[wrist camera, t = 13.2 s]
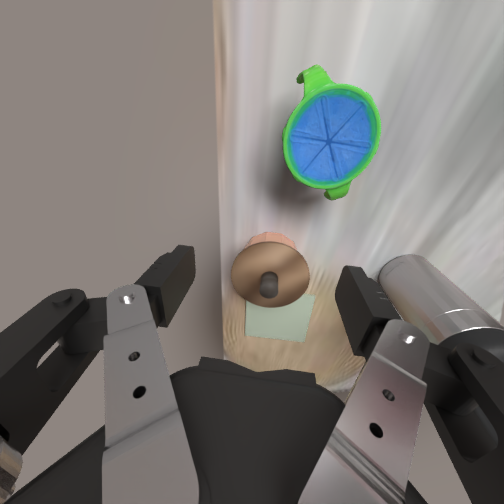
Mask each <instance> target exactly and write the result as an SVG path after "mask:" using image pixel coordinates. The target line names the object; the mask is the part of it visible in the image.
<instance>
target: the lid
mask: <svg viewBox="0 0 504 504" xmlns="http://www.w3.org/2000/svg"><path fill="white" fill-rule="evenodd" d="M231 279H232V283H233V286H234V288H235V290H236V291H237V292H238V293H239V295H240V296H241V297H243V298H244V299H245V300H247V301H248V302H250V303H252V304H255V305H257V306H261V307H267V308H277V307H283V306H286V305H289V304H291V303H293V302H295V301H296V300H298V299H299V298H300V297H301V296H302V295H303V294H304V293H305V291H306V289H307V288H308V285H309V280H310V273H309V268H308V265H307V263H306V261H305V259H304V258H303V256H302V255H301V254H300V253H299V252H298V251H297V250H295V249H294V248H292V247H290V246H288V245H286V244H283V243H279V242H272V241H267V242H259V243H256V244H253V245H250V246H248V247H247V248H245V249H244V250H243V251H241V252H240V253H239V255H238V256H237V257H236V259H235V261H234V263H233V266H232V270H231Z"/></svg>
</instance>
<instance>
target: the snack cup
mask: <svg viewBox="0 0 504 504" xmlns="http://www.w3.org/2000/svg"><path fill="white" fill-rule="evenodd" d="M297 83H299V84H301V83H304V97H303V99H302V101H301V102H300V103H299V104H298V105H297V107H296V108H295V109H294V111H293V112H292V114H291V116H290V117H289V120H288V122H287V124H286V127H285V128H284V129H283V133H282V140H283V154H284V159H285V162H286V164H287V166H288V168H289V170H290V172H291V173H292V175H293V178H294V179H296V180H297V181H298V182H301V183H303V184H305V185H307V186H309V187H312V188H317V189H325V190H326V192H325V193H324V196H325V197H326V198H327V199H329V200H336V199H338V198H342V197H344V196H346V194H347V193H348V190H349V187H350V183H351V181H352V180H353V179H354V178H356V177H357V176H358V175H359V174H360V173H361V172H362V171H363V170H364V169H365V168H366V167H367V166H368V164H369V163H370V162H371V160H372V158H373V156H374V154H376V152H377V149H378V146H379V140H380V134H381V120H380V115H379V112H378V109H377V107H376V105H375V103H374V101H373V99H372V97H371V96H370V95H369V93H367V92H364V91H363V90H362V89H360V88H358V87H356V86H352V85H348V84H336V83H334V82H333V81H332V80H331V79H330V77H329V76H328V75H327V73H326V71H324V70H323V68H322V67H321V66H319V65H314V66H312V67H311V68H309V69H307V70H304V71H303V72H301V73H300V74H299V75H298V77H297Z"/></svg>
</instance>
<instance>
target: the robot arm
mask: <svg viewBox="0 0 504 504" xmlns="http://www.w3.org/2000/svg"><path fill="white" fill-rule="evenodd" d="M194 278H195V254H194V248H193V247H192V246H185V245H178V246H177V247H176V248H175V249H174V250H173V252H172V253H166V254H164V255H162V256H160V257H159V258H158V259H157V260H156V261H155V262H154V264H152V265H151V266H150V268H149V269H148V270H147V271H146V272H145V273H144V274H143V275H142V276H141V277H140V278H139V279H138V280H137V281H136V282H135V283H134V284H131V285H125V286H122V287H119V288H117V289H115V290H114V291H112V292H111V293H110V294H109V295H108V297H101V298H91V299H87V297H86V295H85V293H84V291H82V290H80V289H67V290H62V291H59V292H56V293H54V294H52V295H50V296H48V297H47V298H45V299H44V300H42V301H41V302H40V303H39V304H37V305H36V306H35V307H33V308H32V309H31V310H30V311H28V312H27V313H26V314H24V315H23V316H22V317H20V318H19V319H18V320H17V321H15V322H14V323H13V324H11V325H10V326H9V327H7V328H6V329H5V330H4V331H2V332H1V333H0V504H428V503H427V502H426V501H425V500H424V498H423V497H422V496H421V495H420V494H419V492H418V491H417V490H416V489H415V487H414V486H413V485H412V484H411V483H410V481H409V480H408V476H409V471H410V466H411V461H412V456H413V452H414V447H415V442H416V437H417V432H418V428H419V423H420V418H421V412H422V408H423V403H424V405H425V407H426V409H427V411H428V413H429V415H430V417H431V419H432V421H433V423H434V426H435V428H436V430H437V432H438V434H439V436H440V438H441V440H442V442H443V444H444V446H445V448H446V450H447V453H448V455H449V457H450V459H451V461H452V463H453V465H454V467H455V469H456V471H457V473H458V475H459V478H460V480H461V482H462V484H463V486H464V488H465V490H466V492H467V494H468V496H469V498H470V500H471V503H472V504H504V326H503V325H501V324H500V323H499V322H498V321H497V320H496V319H494V318H493V317H492V316H491V315H490V314H488V313H487V312H486V311H485V310H484V309H483V308H482V307H480V306H479V305H478V304H477V303H476V302H475V301H474V300H472V299H471V298H470V297H469V296H468V295H467V294H465V293H464V292H463V291H462V290H461V289H460V288H459V287H457V286H456V285H455V284H454V283H453V282H452V281H450V280H449V279H448V278H447V277H446V276H445V275H444V274H442V273H441V272H440V271H439V270H438V269H437V268H436V267H434V266H433V265H432V264H431V263H430V262H429V261H427V260H426V259H425V258H423V257H421V256H417V255H405V256H401V257H398V258H395V259H393V260H392V261H390V262H389V263H387V264H386V265H385V266H384V267H383V269H382V270H381V272H380V275H379V282H380V285H381V286H382V288H383V289H384V291H385V292H386V294H387V295H388V297H389V299H390V300H391V302H392V303H393V305H394V306H395V308H396V309H397V311H398V312H399V314H400V315H401V317H402V318H403V320H404V321H403V320H402V319H401V317H400V316H399V314H398V313H397V311H396V310H395V308H394V307H393V305H392V304H391V302H390V301H389V300H388V298H387V296H386V295H385V294H384V291H383V290H382V288H381V287H380V285H379V284H377V283H376V282H375V281H374V280H373V279H371V278H368V277H367V276H366V274H365V272H364V271H363V269H362V268H361V267H355V266H347V265H346V266H344V268H343V270H342V273H341V276H340V279H339V281H338V284H337V287H336V291H335V300H336V303H337V306H338V309H339V312H340V315H341V318H342V321H343V324H344V327H345V330H346V333H347V336H348V339H349V342H350V345H351V348H352V351H353V354H354V355H356V356H363V357H365V359H366V362H365V364H364V366H363V368H362V370H361V372H360V374H359V376H358V377H357V379H356V381H355V383H354V385H353V387H352V389H351V391H350V393H349V395H348V397H347V399H346V401H345V402H344V403H343V402H342V401H341V400H340V399H339V398H338V397H337V396H336V395H334V394H333V393H332V392H330V391H329V390H327V389H326V388H324V387H322V386H320V385H318V384H316V379H315V373H308V372H301V371H295V370H288V369H284V370H275V371H265V372H255V371H252V370H250V369H247V368H245V367H243V366H240V365H238V364H235V363H233V362H231V361H228V360H221V359H215V358H208V357H201V359H200V362H199V365H198V366H193V367H188V368H185V369H182V370H180V371H177V372H176V373H173V374H172V375H170V376H169V373H168V369H167V365H166V362H165V358H164V354H163V350H162V347H161V343H160V340H159V336H158V332H157V328H158V326H160V327H168V325H169V323H170V322H171V320H172V318H173V316H174V315H175V313H176V311H177V309H178V308H179V306H180V304H181V302H182V301H183V299H184V297H185V295H186V293H187V292H188V290H189V288H190V286H191V285H192V283H193V281H194ZM56 341H57V342H58V343H59V346H58V347H57V348H56V349H55V350H54V351H53V352H52V353H51V354H50V355H49V356H48V358H47V359H46V360H45V361H44V362H43V363H42V364H41V365H40V366H39V367H38V368H37V364H38V362H39V360H40V359H41V357H42V356H43V355H44V354H45V353H46V352H47V351H48V350H49V349H50V348H51V346H52V345H54V343H55V342H56ZM100 350H104V388H105V389H104V390H105V425H104V426H102V427H101V428H100V429H98V430H97V431H96V432H94V433H93V434H92V435H90V436H89V437H88V438H87V439H85V440H84V441H83V442H81V443H80V444H79V445H77V446H76V447H75V448H74V449H72V450H71V451H70V452H68V453H67V454H66V455H64V456H63V457H62V458H60V459H59V460H58V461H57V462H55V463H54V464H53V465H51V466H50V467H49V468H47V469H46V470H45V471H43V472H42V473H41V474H39V475H38V476H37V477H36V478H34V479H33V480H32V481H30V482H29V483H28V484H26V485H25V486H24V487H22V488H21V489H20V490H18V491H17V492H16V493H15V494H13V492H14V490H15V482H16V480H17V478H18V476H19V474H20V471H21V468H22V463H23V460H22V455H23V454H24V452H25V451H26V450H27V448H28V447H29V445H30V444H31V443H32V441H33V440H34V439H35V437H36V436H37V435H38V433H39V432H40V431H41V429H42V428H43V427H44V425H45V424H46V422H47V421H48V420H49V418H50V417H51V416H52V414H53V413H54V412H55V410H56V409H57V408H58V406H59V405H60V404H61V402H62V401H63V400H64V398H65V397H66V396H67V394H68V393H69V392H70V390H71V388H72V387H73V386H74V385H75V383H76V382H77V380H78V379H79V378H80V377H81V375H82V374H83V373H84V371H85V370H86V369H87V367H88V366H89V364H90V363H91V362H92V360H93V359H94V358H95V356H96V355H97V353H98V352H99V351H100ZM12 494H13V495H12Z"/></svg>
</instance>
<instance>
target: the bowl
mask: <svg viewBox="0 0 504 504" xmlns="http://www.w3.org/2000/svg"><path fill="white" fill-rule="evenodd" d="M267 241H272V242H279V243H283V244H286V245H288V246H290V247H292V248H294V249H295V250H297V249H296V246H295V244H294V242H293V241H291V240H290V239H288V238H287V237H286V236H284V235H283V234H280V233H271V232H265V233H262V234H260V235H257V236H255V237H253V238H252V239H251V240H250V241H249V243H248V244H247V245H246V246H245V248H247V247H248V246H250V245H253V244H256V243H259V242H267ZM245 248H244V249H245Z"/></svg>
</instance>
